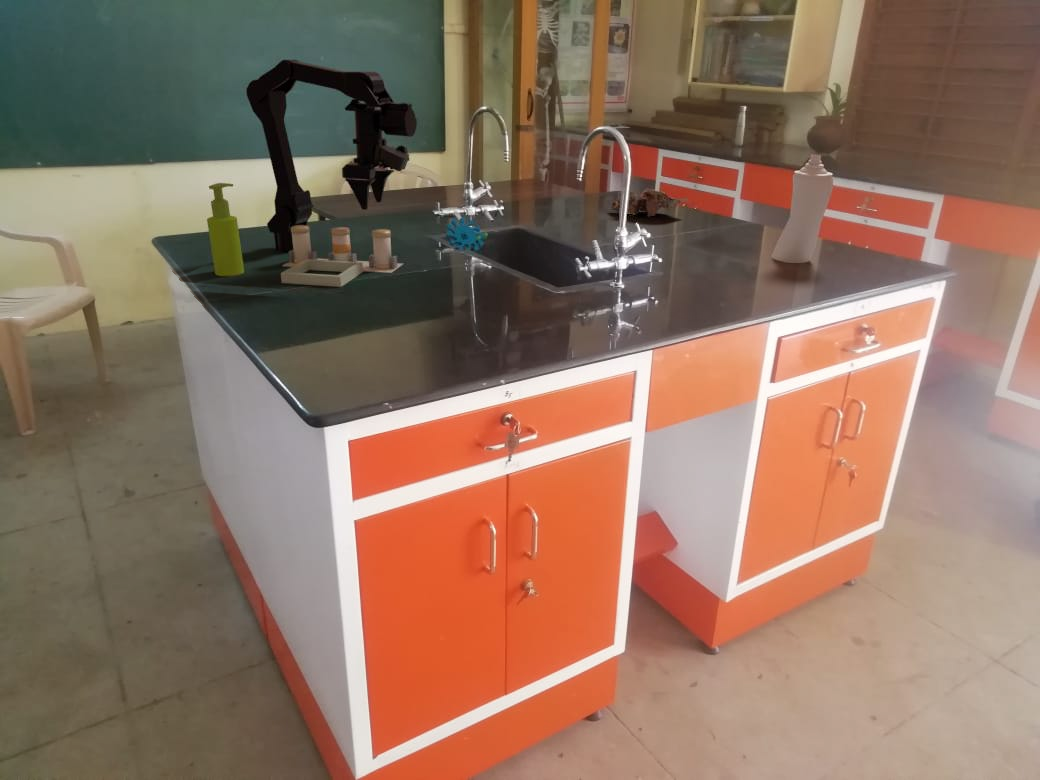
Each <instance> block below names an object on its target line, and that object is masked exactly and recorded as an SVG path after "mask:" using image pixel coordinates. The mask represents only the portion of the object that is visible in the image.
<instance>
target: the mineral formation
mask: <svg viewBox="0 0 1040 780" xmlns="http://www.w3.org/2000/svg"><path fill="white" fill-rule="evenodd" d="M629 191H630V200H629V209H628V213H630V214H634V215H635V216H637V215H638V214H637V212H639V211H642V212H644V213H646V212H648V213H647V217H648V216H654V217H655V216H656V214H657V212H658V211H660V209H661V208H664V209H666V210H667V211H668V212H669V211H670V210H672V208H673V207H674V206H678V204H680V203H681V202H683V203H684V202H687V203H689V202H690V199H689V198H679V199H678V198H676V197H670V196H668V195H667V194H666V193H665V191H662V190H660V191H659V190H656V189H653V188H649V187H646V189H645V190H644V191H642V193H640V195H639V196H638V195H637V194H635V193H634V192H632V191H631V190H629ZM620 197H621V191H620V193H619V199H618V200H613V202H611V206H610V207H611V210H612V211H615V212H617V213H619V208H620Z"/></svg>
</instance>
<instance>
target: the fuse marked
mask: <svg viewBox="0 0 1040 780" xmlns="http://www.w3.org/2000/svg"><path fill="white" fill-rule="evenodd" d="M350 231H351V230H350V228H349V227H346V226H345V227H344V226H341V227H340V226H338V227H332V228H330V235H331V243H332V246H331V247H332V252H333V254H334V261H346V262H351V259H350V255H352V248H351V246H352V245H351V237H350V234H351V232H350Z"/></svg>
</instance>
